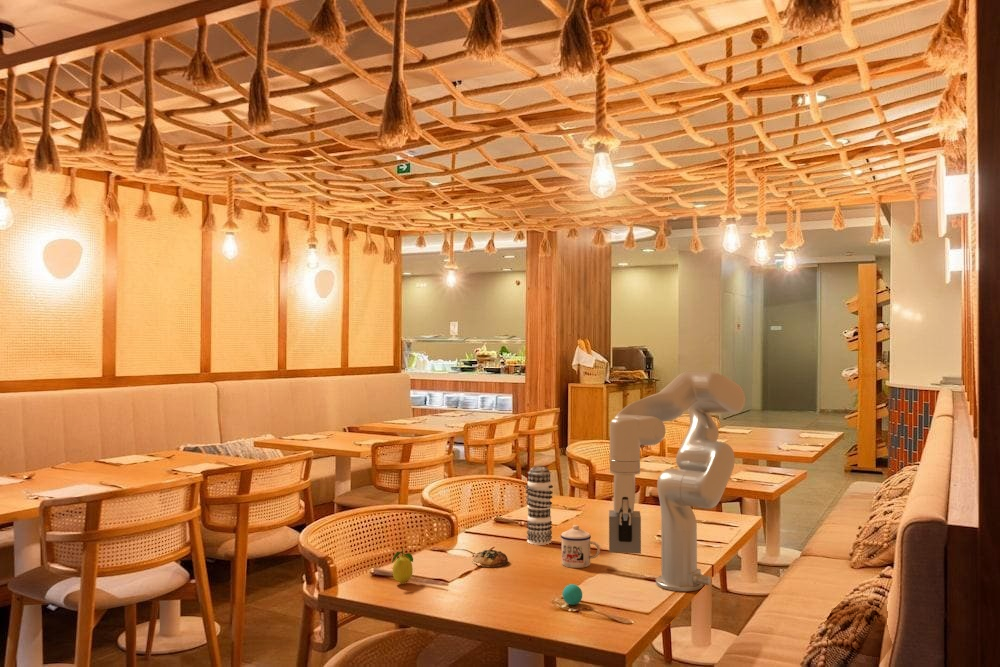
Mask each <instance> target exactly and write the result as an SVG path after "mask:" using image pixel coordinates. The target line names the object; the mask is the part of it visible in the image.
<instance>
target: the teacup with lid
mask: <svg viewBox="0 0 1000 667" xmlns="http://www.w3.org/2000/svg"><path fill="white" fill-rule="evenodd" d="M560 538H561V564H562V565H563V567H567V568H571V569H582V568H588V567H589V566H591V559H595V558H597V557H598V556H599V554H600V552H601V547H600V544H599V543H597V542H596V541H591V538H592V536H591V533H589V532H588V531H585V530H583V529H582V528H580V526H579V525H578V524H573V525H572V528H569V529H568V530H566V531H563V532H561V535H560ZM591 545H594V546H595V547H596V553H595V555H591Z"/></svg>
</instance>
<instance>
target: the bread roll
mask: <svg viewBox="0 0 1000 667" xmlns="http://www.w3.org/2000/svg"><path fill="white" fill-rule="evenodd" d="M472 560H473V561H474V562H476V563H480V564H481V566H482V567H481V566H480V567H481V568H488V569H489V568H491V569H492V567H493V568H499V567H504V566H506V565H507V563H508V562H509V561H508V560H509V559H508V556H507V555H506V554H505V553H504V552H502V551H500V550H499V551H497V550H493V549H484V550H482V551H480V552H477V553H476V554H474V556H473V557H472ZM473 561H472V562H473Z"/></svg>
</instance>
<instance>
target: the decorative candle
mask: <svg viewBox="0 0 1000 667" xmlns="http://www.w3.org/2000/svg"><path fill="white" fill-rule="evenodd" d="M551 474H552V472H551V471H550V470H549V468H548V467H546V466H545V467H544V466H534V467H533V466H532V467H531V468H530V469H529V471H527V475H528V476H527V478H528V480H527V484H526V485H525V489H526V491H525V493H526V494H527V495H526V504H527V505H526V508H527V509H528V510H527V511H528V512H527V520H526V521H527V522H526V524H527V526H526V528H527V530H526V534H527V535H526V538H527V540H526V543H527V542H528V543H527V544H529V543H530V544H529V545H533V544H534V545H533V546H546V544H548V545H550V544H549V543H551V542H552V543H553V541H552V539H553V535H552V534H553V531H552V530H551V529H552V527H553V526H552V523H553V522H552V516H551V509H552V508H553V506H552V505H553V502H552V501H551V499H553V496H552V494H553V491H552V490H551V489H552V488H553V487H554V486H553V485H552V481H551ZM552 543H551V544H552Z"/></svg>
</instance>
